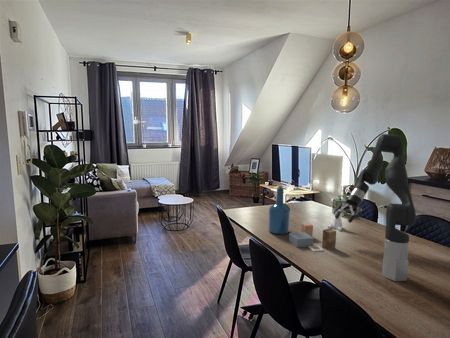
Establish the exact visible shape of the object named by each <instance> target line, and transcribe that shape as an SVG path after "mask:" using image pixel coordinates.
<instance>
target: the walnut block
mask: <svg viewBox="0 0 450 338" xmlns="http://www.w3.org/2000/svg"><path fill="white" fill-rule="evenodd" d="M321 241H322V242H321V248H322V249H325V250H328V251H332V250H335V249H336V243H337V230H336V229H333V228H326V229H322V239H321Z"/></svg>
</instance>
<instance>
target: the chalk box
mask: <svg viewBox="0 0 450 338" xmlns="http://www.w3.org/2000/svg"><path fill="white" fill-rule="evenodd" d="M346 200H347V199H345V198H342V197H341V196H340V195H339V194H338V195H337V198H332V208H331V209H332V210H331V212H332V214H333V215H335V213H336V210H335V209H336V207H337V206H338V205H339V203H340V202H341V203H342V204H345V203H346ZM343 210H344V209H343ZM348 213H349V212H344V213H342V214H344V215H343V216H349V215H348ZM343 216H342V217H343Z"/></svg>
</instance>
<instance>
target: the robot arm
mask: <svg viewBox="0 0 450 338" xmlns="http://www.w3.org/2000/svg"><path fill="white" fill-rule="evenodd" d="M375 143H376V144H375V146H374V150H373V152H372V157H371V159H370V160H369V163H368V164H367V166H366V168H365V169H362V170H361V171H360V173H359V176H358V179H357V180H358V181H357V183H356V185H355V187H354V188H353V189H352V191H351V192H350V193H349V195H348V197H347V198H346V199H345V200H346V203H345V204H342V203H341V202H340V203H339V205H338V206H337V207H336V209H335V210H336V211H337V213H336V215H335V214H334V219H335V218H336V219H338V218H339V216H340V214H341V213H344V212H348V213H349V214H351V215H350V217H349V218H348V220H347V221H348V223H349V224H350V223H353V221H354V220H355V218H360V216H361V214H362V212H363V208H362V207H361V206H360V205H361V204H362V202H363V201H364V198H365V196H366V195H367V193H368V191H369V189H370V187H369V185H371V186H373V185H376V184H377V183H378V181H379V178H380V177H379V174H380V172H381V170H382V169H383V167H384V159H383V156H382V154H381V153H382V152H383V153H389V154H393V158H392V160H390V162H389V163H388V165H386V167H385V169H384V178H385V184H386V185H387V187H388V188H389V190H391V191H392V192H393V193H394V195H396V196H397V197H398V198H399V200H400V202H401V203H389V204H388V205H387V206H386V209H385V210H386V211H385V233H384V234H385V236H384V245H383V246H384V247H383V256H382V257H383V259H382V271H381V274H382V276H383V277H384V278H386V279H387V280H388V279H389V280H391V281H393V282H405V281H408V273H409V263H410V261H409V259H408V254H409V242H410V235H409V234H408V233H406V232H405V231H402V230H400V229H399V228H396V226H405V227H407V226H408V227H411V226H414V225H415V224H416V222H417V213H416V208H415V206H414V202H413V198H412V195H411V190H410V185H409V178H408V172H407V169H406V162H405V157H404V156H405V155H404V144H403V143H404V142H403V138H402V136H400V135H396V134H388V133H385V134H384V133H383V134H380V135H379V137H378V138H377V141H376V142H375ZM368 184H369V185H368ZM343 209H344V210H343Z"/></svg>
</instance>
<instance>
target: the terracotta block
mask: <svg viewBox="0 0 450 338" xmlns="http://www.w3.org/2000/svg"><path fill="white" fill-rule="evenodd" d="M313 230H314V225H313V224H312V223H310V222H301V230H300V232H305V233H307V234H308V235H310V236H311V237H313V234H314V233H313V232H314V231H313Z"/></svg>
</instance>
